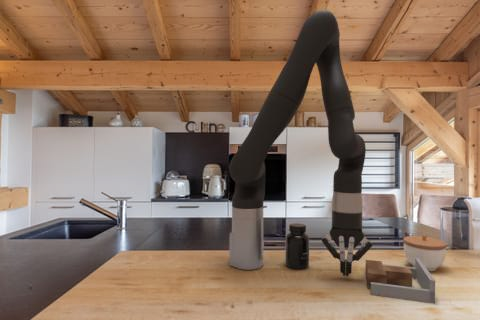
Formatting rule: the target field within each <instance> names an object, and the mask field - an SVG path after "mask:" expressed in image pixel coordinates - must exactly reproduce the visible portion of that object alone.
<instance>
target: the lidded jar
mask: <svg viewBox="0 0 480 320" xmlns="http://www.w3.org/2000/svg"><path fill="white" fill-rule="evenodd" d="M402 241H403V253H404V255H405V258H406V260H407V261H408V262H409V263H410V265H411V267H414V268H415V258H417V259H420V260H421V261H422V263H423V264H424V266H425V267H426V268H427V270H428V271H429V272H433V271H434V272H435V271H437V269H438V268H440V267H441V266H442V265H443V264H444V262H445V259H446V253H447V247H448V246H447V243H446V242H445V241H443V240H442V239H440V238H434V237H429V236H427V234H422V235H420V236H419V235H408V236H405V237H403V239H402Z"/></svg>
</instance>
